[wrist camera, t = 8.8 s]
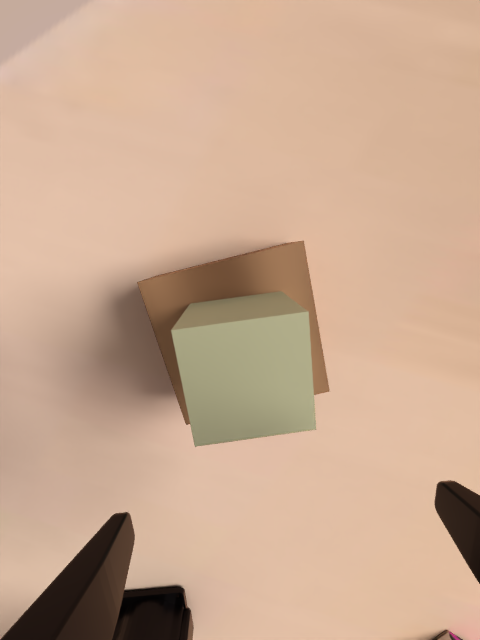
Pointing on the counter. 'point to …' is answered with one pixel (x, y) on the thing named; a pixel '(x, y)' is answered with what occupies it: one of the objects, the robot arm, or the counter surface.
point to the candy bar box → (447, 636)
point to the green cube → (245, 367)
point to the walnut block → (229, 282)
